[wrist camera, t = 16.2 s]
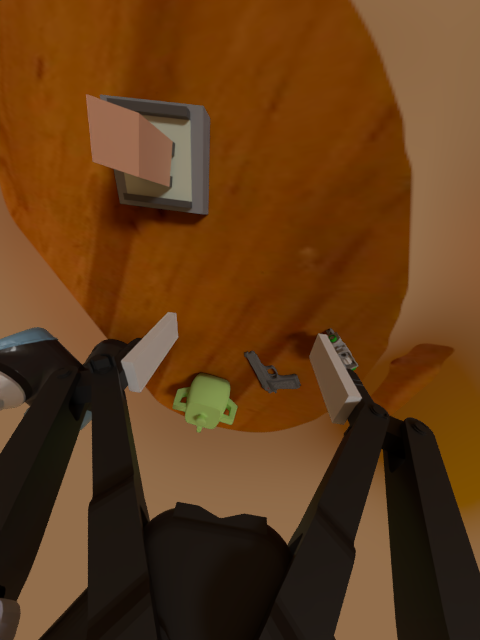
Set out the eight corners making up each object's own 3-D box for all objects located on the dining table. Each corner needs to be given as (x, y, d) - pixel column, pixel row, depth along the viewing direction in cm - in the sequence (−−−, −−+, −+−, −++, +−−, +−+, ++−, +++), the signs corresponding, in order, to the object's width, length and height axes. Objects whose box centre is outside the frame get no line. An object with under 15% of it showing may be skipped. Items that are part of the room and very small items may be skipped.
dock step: (132, 204, 38) (114, 203, 33) (117, 108, 31) (91, 88, 26) (208, 214, 38) (200, 214, 33) (210, 118, 30) (200, 100, 26)
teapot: (230, 412, 70) (224, 450, 58) (179, 397, 69) (163, 433, 57) (244, 380, 61) (240, 418, 49) (186, 363, 59) (168, 398, 48)
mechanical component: (325, 314, 46) (340, 336, 37) (343, 341, 49) (361, 368, 40) (314, 320, 47) (326, 343, 38) (332, 346, 50) (347, 373, 41)
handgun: (302, 388, 57) (266, 397, 60) (300, 382, 59) (266, 391, 62) (281, 343, 50) (242, 355, 53) (280, 338, 52) (243, 350, 56)
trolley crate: (175, 143, 29) (138, 113, 21) (171, 187, 32) (138, 177, 24) (138, 130, 29) (85, 93, 20) (138, 176, 32) (92, 161, 23)
